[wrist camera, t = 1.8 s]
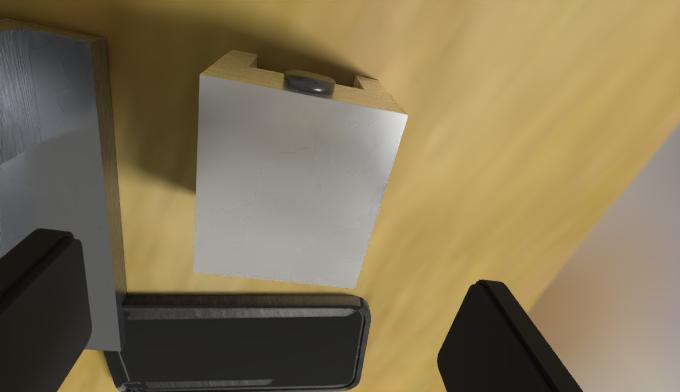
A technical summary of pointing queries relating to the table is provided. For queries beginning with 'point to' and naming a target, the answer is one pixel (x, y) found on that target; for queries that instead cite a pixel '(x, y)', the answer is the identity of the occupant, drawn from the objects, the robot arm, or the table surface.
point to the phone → (241, 343)
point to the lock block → (289, 172)
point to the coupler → (63, 158)
